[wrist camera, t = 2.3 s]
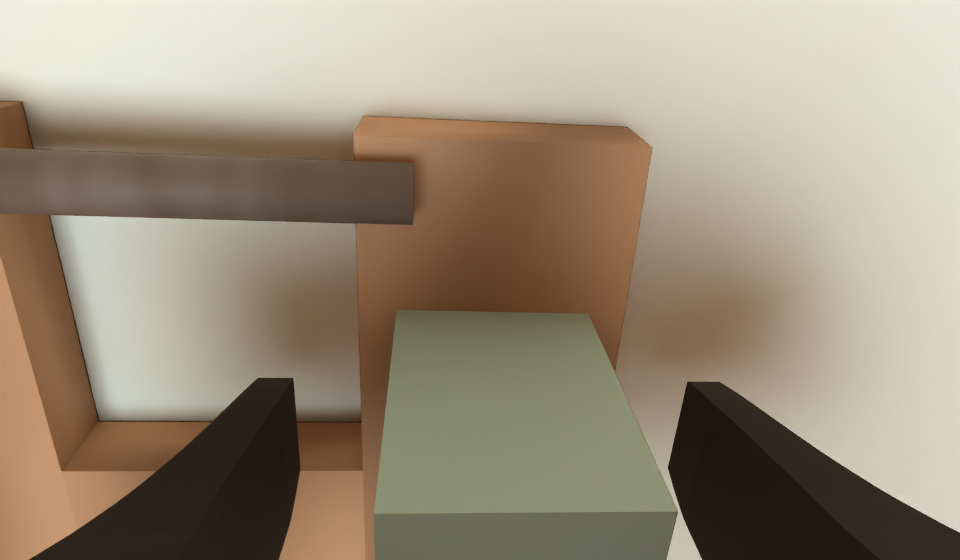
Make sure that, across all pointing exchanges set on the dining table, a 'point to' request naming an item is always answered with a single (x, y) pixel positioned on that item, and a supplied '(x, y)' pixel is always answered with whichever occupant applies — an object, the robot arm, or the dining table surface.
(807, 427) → the dining table surface
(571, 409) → the green block
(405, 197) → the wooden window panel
